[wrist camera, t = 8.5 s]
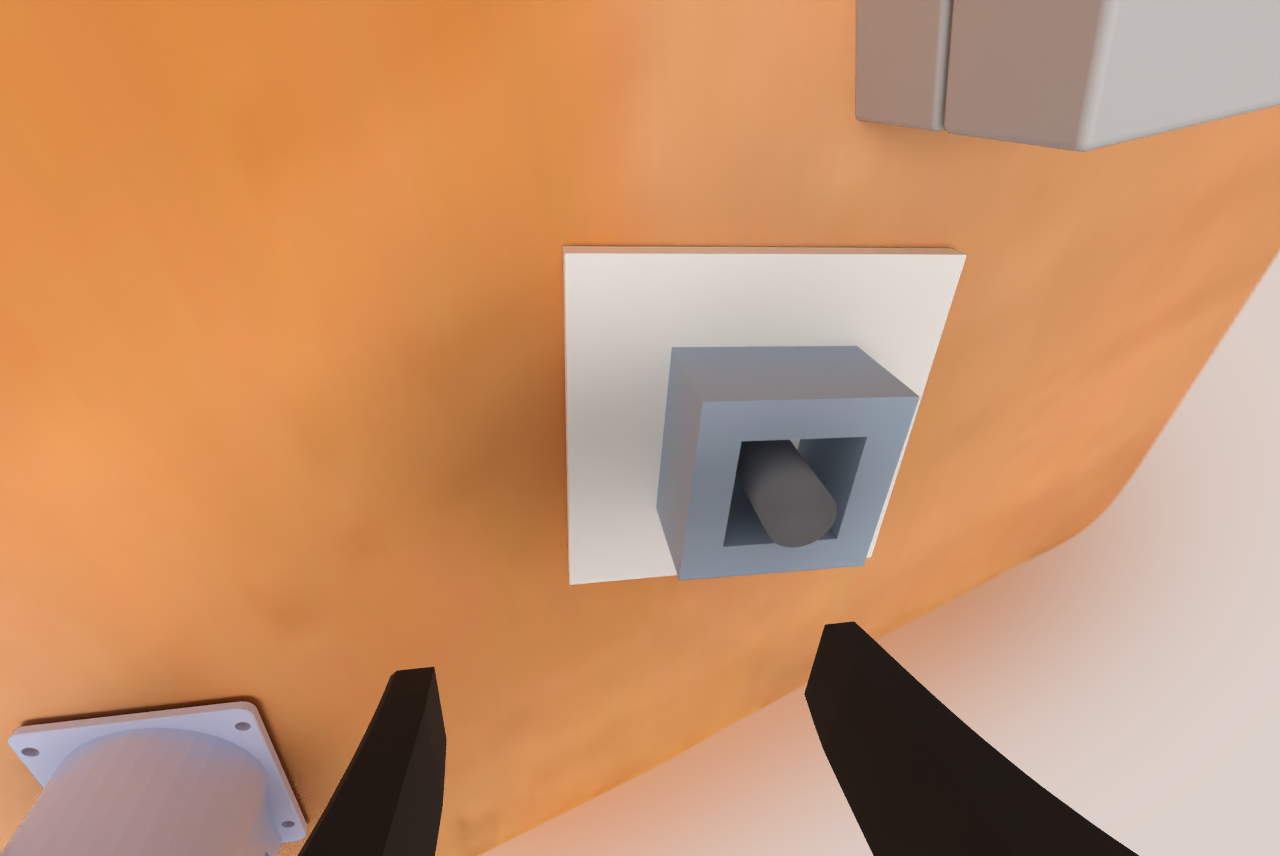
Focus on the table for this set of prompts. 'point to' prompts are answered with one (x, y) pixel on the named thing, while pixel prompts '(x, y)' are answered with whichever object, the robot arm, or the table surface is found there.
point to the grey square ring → (775, 410)
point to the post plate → (720, 317)
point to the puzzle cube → (1064, 66)
